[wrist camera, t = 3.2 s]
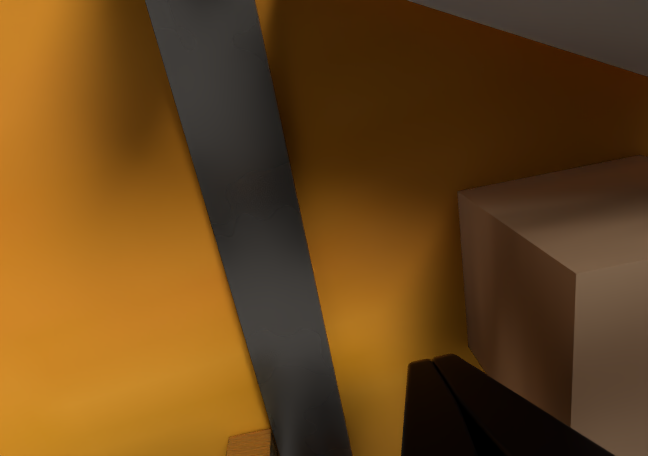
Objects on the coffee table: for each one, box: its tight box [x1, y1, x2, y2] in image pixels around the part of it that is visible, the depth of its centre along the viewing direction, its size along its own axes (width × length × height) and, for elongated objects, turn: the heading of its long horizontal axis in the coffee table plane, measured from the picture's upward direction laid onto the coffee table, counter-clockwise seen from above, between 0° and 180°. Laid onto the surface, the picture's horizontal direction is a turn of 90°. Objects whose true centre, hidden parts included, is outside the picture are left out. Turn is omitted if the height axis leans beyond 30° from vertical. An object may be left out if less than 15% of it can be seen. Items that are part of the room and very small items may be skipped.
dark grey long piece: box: [145, 0, 352, 456], centre depth 8 cm, size 18×4×6 cm, turn 10°
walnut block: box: [457, 155, 648, 456], centre depth 9 cm, size 4×4×4 cm
